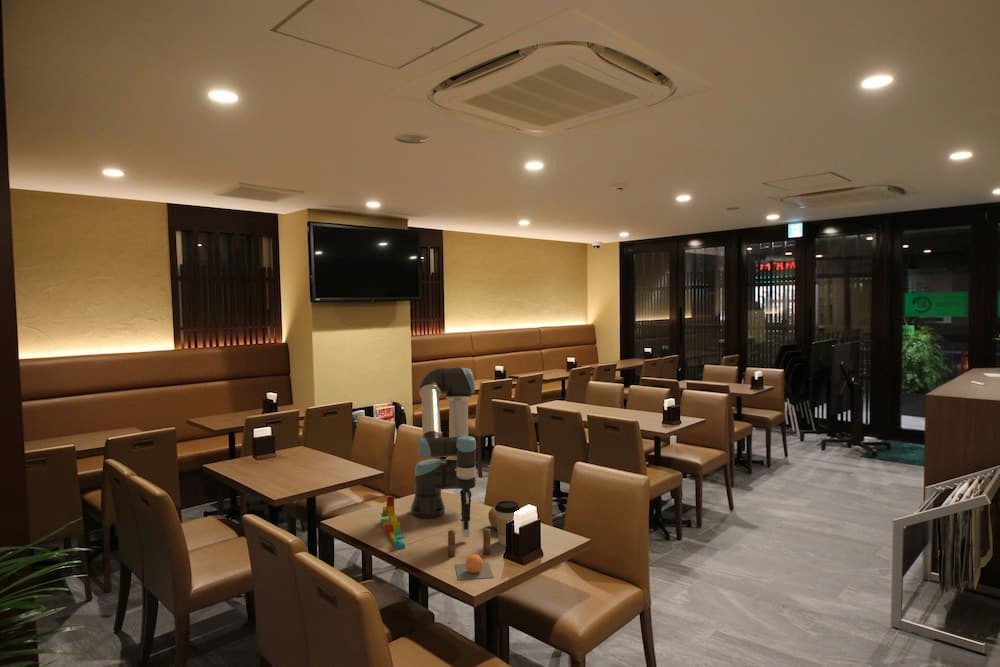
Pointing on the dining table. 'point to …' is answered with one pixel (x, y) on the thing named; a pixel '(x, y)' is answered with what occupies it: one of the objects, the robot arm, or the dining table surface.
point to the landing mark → (465, 574)
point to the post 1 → (451, 543)
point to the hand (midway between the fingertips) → (465, 536)
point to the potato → (492, 517)
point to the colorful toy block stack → (391, 530)
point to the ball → (474, 563)
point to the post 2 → (486, 541)
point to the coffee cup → (504, 517)
